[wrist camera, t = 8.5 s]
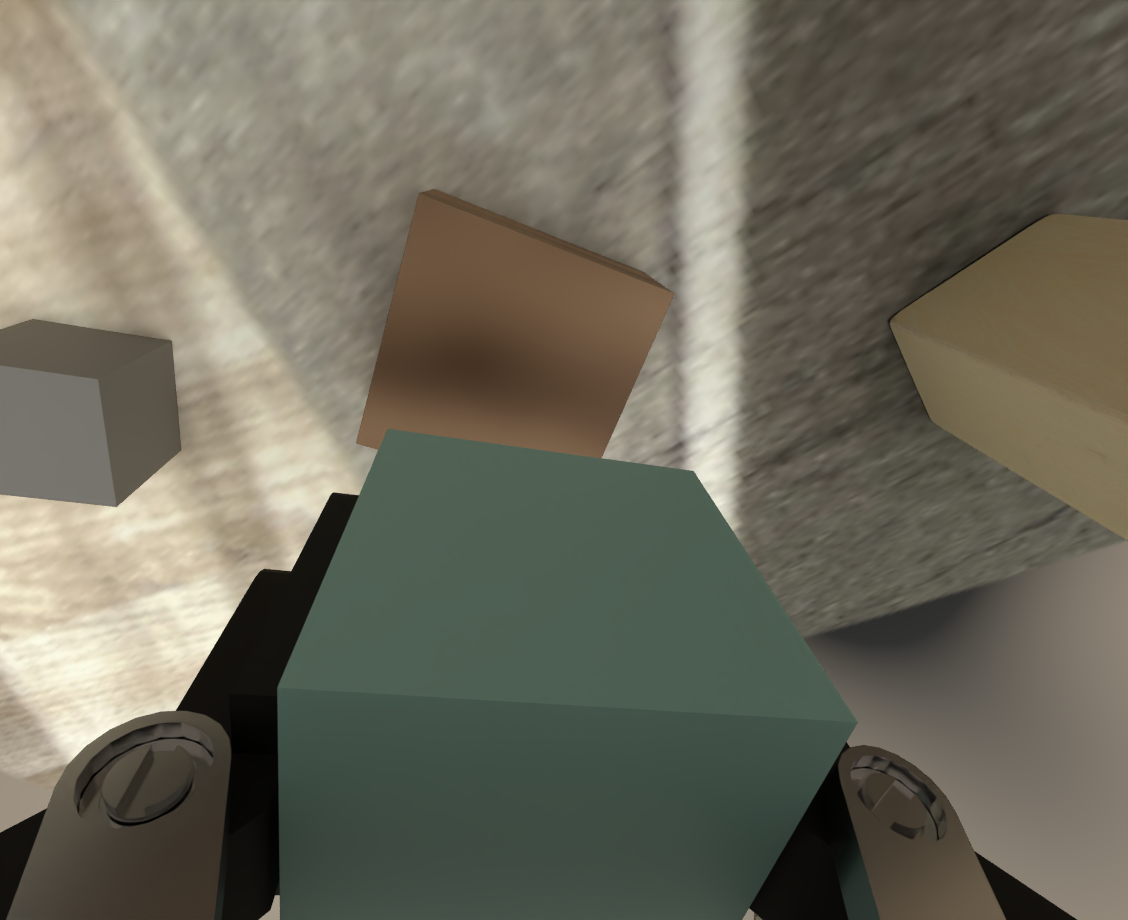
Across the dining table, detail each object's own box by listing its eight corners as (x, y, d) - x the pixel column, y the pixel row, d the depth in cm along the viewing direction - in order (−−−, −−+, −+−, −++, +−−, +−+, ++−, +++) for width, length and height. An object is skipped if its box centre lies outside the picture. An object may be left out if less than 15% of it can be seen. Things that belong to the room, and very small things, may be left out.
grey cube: (34, 318, 23) (-78, 354, 19) (172, 340, 24) (97, 379, 19) (55, 433, 25) (-41, 490, 21) (182, 449, 26) (116, 506, 21)
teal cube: (388, 428, 9) (278, 688, 4) (693, 471, 10) (857, 722, 5) (368, 669, 11) (281, 1009, 7) (622, 686, 12) (698, 996, 7)
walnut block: (434, 188, 23) (418, 193, 18) (642, 271, 25) (674, 293, 20) (380, 396, 26) (356, 443, 22) (567, 452, 28) (580, 506, 24)
